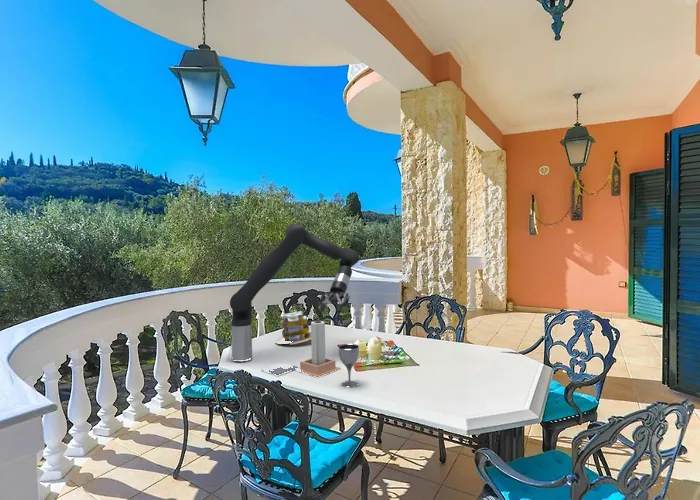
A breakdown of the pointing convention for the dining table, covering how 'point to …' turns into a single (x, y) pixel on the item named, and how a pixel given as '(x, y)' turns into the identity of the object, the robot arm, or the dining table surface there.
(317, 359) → the tall grey box
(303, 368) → the terracotta square tray
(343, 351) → the wine glass
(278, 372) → the slate mat
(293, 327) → the tray of yellow jars
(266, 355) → the dining table surface
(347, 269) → the robot arm
